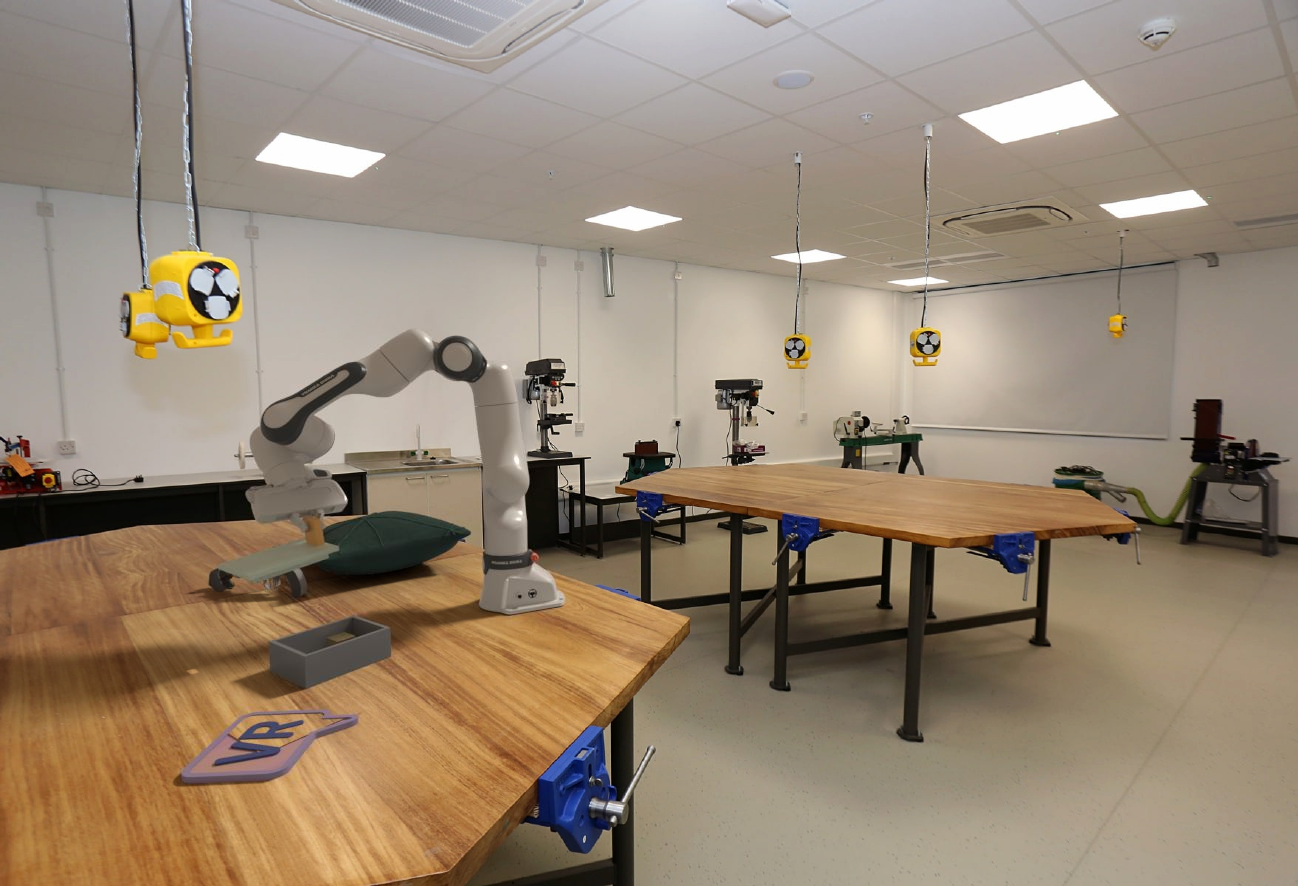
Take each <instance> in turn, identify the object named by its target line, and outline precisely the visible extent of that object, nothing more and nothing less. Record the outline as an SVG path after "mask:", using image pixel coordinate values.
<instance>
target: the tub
mask: <svg viewBox="0 0 1298 886" xmlns="http://www.w3.org/2000/svg"><path fill="white" fill-rule="evenodd" d="M391 630H392V629H391V627H390V626H387V625H384V624H382V623H378V622H374V621H373V620H369V619H366V618H364V617H360V616H357V615H351V616H347V617H344V618H341V619H337V620H334V621H331V622H328V623H325V624H322V625H317V626H314V627H312V628H311V627H310V628H309V629H308V628H307V629H305V630H302V631H298V632H296V633H291V634H288V635H286V636H282V637H279V638H275V639H272V640H269V641H268V651H269V652H268V653H269V673H271V674H273V675H275V676H276V677H277V676H278V677H279V678H282V679H283V680H285V681H288V682H290V683H292V684H294V685H296V686H298V687H300V688H302V689H304V690H308V689H311V688H312V687H316V686H318V685H320V684H324V683H326V682H329V681H331V680H334V679H336V678H339V677H342V676H344V675H347V674H349V673H351V672H355V671H358V670H360V669H363V668H365V667H368V666H370V665H373V664H376V663H378V662H382V661H383V660H386V659H388V658H392V642H391V641H392V638H391V637H392V635H391V634H392V633H391ZM343 632H346V633H349V634H352V635H354V636H355V637H356V638H353V639H350V640H347V641H344V642H341V643H338V644H336V645H333V646H330V647H327V640H326V638H327V637H330V636H333V635H337V634H340V633H343Z"/></svg>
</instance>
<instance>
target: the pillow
mask: <svg viewBox="0 0 1298 886" xmlns="http://www.w3.org/2000/svg"><path fill="white" fill-rule="evenodd" d="M322 530H323V536H324V542H325V543H329V544H333V545H336V546H339V551H336V552H333V553H330V554H328V556H329V558H327V559H324V560H322V561H319V562H316V563H313V564H312V565H314V566H317V567H318V568H320V569H322V570H323V571H326V572H328V573H330V574H331V573H332V574H338V575H348V576H349V575H351V576H352V575H354V576H356V575H357V576H360V575H361V576H363V575H375V574H376V575H377V574H384V573H388V572H394V571H399V570H403V569H406V568H410V567H414V566H416V565H420V564H424V563H425V562H428V561H430V560H432V559H435V558H437V557H439V556H441V555H443V554H445V553H447V552H449V551H450V550H451V549H453V548H454V547H455V546H456V545H457V544H458V542H459V541H462V540H463V539H465V538H467V537H469V536H471V534H472V531H471V530H469V529H468V528H467V527H465V526H459V525H458V524H454V523H451V522H448V521H446V520H443V519H441V518H437V517H432V516H429V515H425V514H420V513H416V512H411V511H403V510H402V511H399V510H385V511H379V512H372V513H370V514H366V515H362V516H359V517H355V518H351V519H347V520H343V521H338V522H336V523H332V524H330V525H327V526H325V528H324V529H322Z"/></svg>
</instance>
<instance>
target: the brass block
mask: <svg viewBox="0 0 1298 886" xmlns="http://www.w3.org/2000/svg"><path fill="white" fill-rule="evenodd" d="M353 638H356V637H355V636H354V635H352V634H349V633H346V632H343V633H340V634H337V635H333V636H330V637H327V638H326V640H327V647H330V646H333V645H336V644H338V643H341V642H344V641H347V640H350V639H353Z"/></svg>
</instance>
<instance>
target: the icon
mask: <svg viewBox="0 0 1298 886" xmlns="http://www.w3.org/2000/svg"><path fill="white" fill-rule="evenodd" d="M304 714H305V715H306V714H323V716H322V718H321V720H332V719H333V720H334V719H335V720H336V719H339V720H337V721H335V722H333V723H331V724H329V725H327V726H324V727H322V728H318V729H316V730H312V731H311V732H309V733H308V734H305V735H304V736H302V737H299V738H297V739H295V740H292V741H290V742H288V743H285V744H283V745H281V746H273V745H267V744H259V743H253V742H245V741H241V740H262V739H267V740H268V739H289V738H291V737H293V736H294V732H293V731H287V732H286V731H284V732H283V731H282V732H279V731H281V730H286V729H289V728H294V727H298V726H302V725H304V723H305V721H304V720H303V719H300V720H295V721H291V722H287V723H282V724H280V723H279V722H278V721H262V722H257V723H256V724H255V723H254V724H253V725H251V726H250V727H249V728H247V729H246V730H245V731H244V732H243V733H242V734H241V735H240V736H239V737H238V738H236V737H235V736H233V735H232V734H230V732H232V731H233V730H234V729H235V728H236V727H237V726H238V725H240V723H241V722H243V721H244V720H245V719H248V718H249V717H253V716H271V715H272V716H274V715H275V716H277V715H304ZM359 722H360V721H359V715H358V714H355V713H354V714H353V713H350V714H331V712H330V710H327V709H302V710H301V709H299V710H272V711H271V710H268V711H253V712H249V713H246V714H243V715H241V716H239V717H238V718H237V719H235V721H233V723H232V724H230V725H229V726H228V727H227V728H226V729H225V730H224V731H223V732H221V734H219V735H218V736H217V737H216V738H215V739H214V740H213V741H212V742H211V743H210V744H208V745H207V746H206V748H204V749H203V750H202V751H201V752H200V753H199V754H198V755H196V757H194V759H192V760H191V761H190V762H189V763H188V764H187V765H185V767H184V768H183V769H182V770H181V773H180V774H181V775H180V776H181V781H182V782H183V783H184V784H206V783H207V784H210V783H211V784H213V783H230V782H233V783H235V782H236V783H237V782H257V781H260V782H261V781H272V780H276V779H278V778H280V777H283V776H285V775H287V774H288V773H289V772H291V770H292V768H294V766H295V765H296V764H297V763H298V761H299V760H300V759H301V757H302V756H303V755H304V754H305V753H306V751H307V750H308V749H309V748H310V746H311V745H312V744H313V743H314V741H315V740H317V739H319V738H322V737H325V736H328V735H331V734H335V733H337V732H340V731H343V730H346V729H350V728H353V727H354V726H357V725H358V724H359ZM260 728H269V729H268V730H267V731H266V732H263V733H262V732H260V733H259V732H258V733H257V732H256V733H255V731H256V730H258V729H260ZM277 731H278V732H277Z"/></svg>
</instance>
